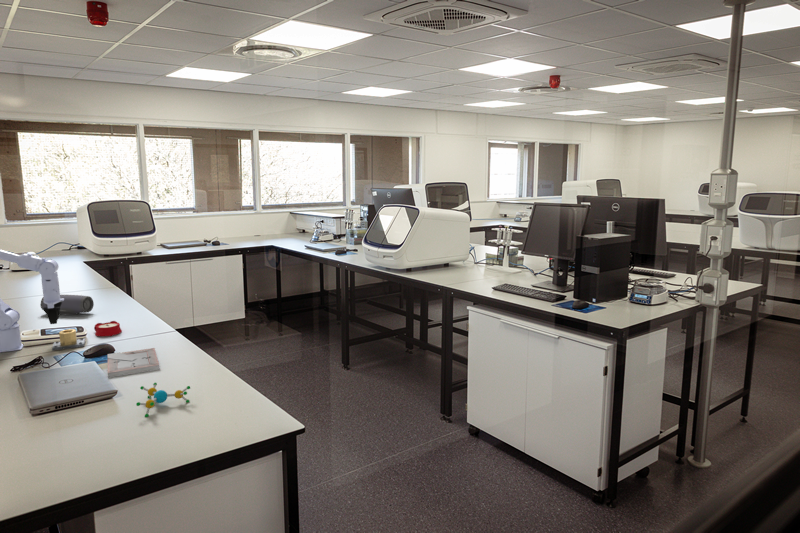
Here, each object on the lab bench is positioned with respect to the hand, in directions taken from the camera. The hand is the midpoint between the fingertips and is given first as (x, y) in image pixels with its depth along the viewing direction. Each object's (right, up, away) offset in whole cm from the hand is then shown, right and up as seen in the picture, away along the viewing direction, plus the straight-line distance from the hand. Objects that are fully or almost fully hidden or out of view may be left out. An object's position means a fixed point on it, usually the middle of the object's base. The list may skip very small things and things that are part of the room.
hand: (54, 321), depth 212 cm
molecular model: (+69, -20, -54) cm, 90 cm away
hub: (+6, -9, 0) cm, 11 cm away
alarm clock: (+12, -7, +19) cm, 23 cm away
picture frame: (+43, -15, -20) cm, 50 cm away
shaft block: (+6, -10, 0) cm, 12 cm away
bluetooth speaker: (-26, -2, +49) cm, 56 cm away
